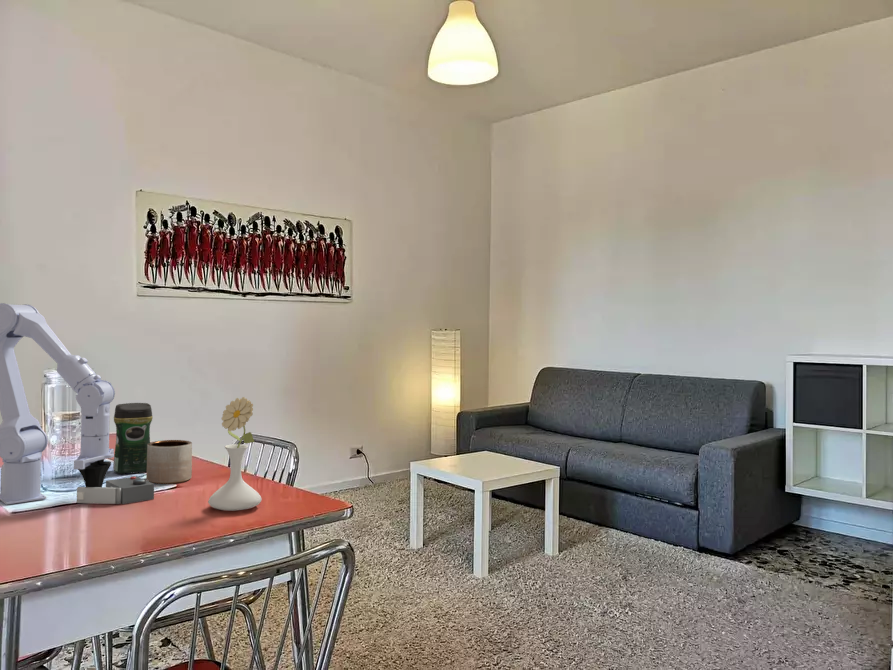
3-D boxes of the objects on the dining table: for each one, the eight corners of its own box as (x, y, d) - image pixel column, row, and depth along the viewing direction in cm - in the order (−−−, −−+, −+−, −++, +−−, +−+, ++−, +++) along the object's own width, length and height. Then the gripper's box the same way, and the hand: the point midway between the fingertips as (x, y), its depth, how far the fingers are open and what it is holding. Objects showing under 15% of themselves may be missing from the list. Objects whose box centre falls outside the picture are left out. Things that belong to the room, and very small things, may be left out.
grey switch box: (105, 495, 161) (105, 477, 161) (136, 491, 166) (136, 473, 166) (122, 504, 154) (122, 485, 154) (153, 499, 159) (154, 480, 159)
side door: (75, 503, 153) (75, 488, 153) (78, 501, 154) (79, 486, 154) (118, 504, 153) (119, 489, 153) (121, 502, 154) (121, 487, 154)
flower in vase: (200, 506, 154) (202, 394, 153) (248, 499, 161) (251, 392, 161) (223, 519, 144) (225, 400, 143) (273, 511, 151) (276, 397, 151)
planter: (192, 483, 175) (193, 445, 175) (145, 486, 171) (146, 447, 171) (191, 474, 185) (191, 439, 185) (147, 476, 181) (147, 440, 181)
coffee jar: (148, 467, 193) (150, 400, 193) (154, 472, 186) (155, 403, 186) (110, 470, 188) (112, 402, 188) (114, 475, 181) (116, 405, 181)
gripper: (97, 440, 148) (96, 503, 149) (127, 430, 163) (126, 487, 163) (64, 439, 148) (63, 502, 148) (97, 429, 163) (95, 487, 163)
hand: (93, 494), depth 156 cm, fingers closed
